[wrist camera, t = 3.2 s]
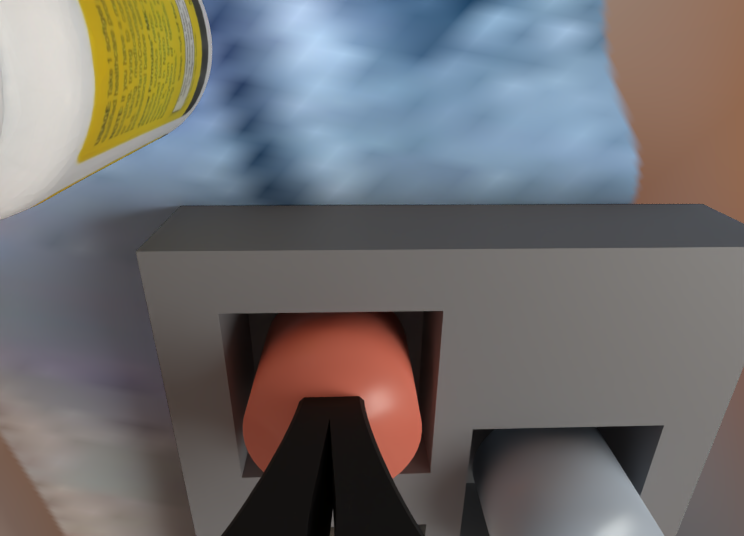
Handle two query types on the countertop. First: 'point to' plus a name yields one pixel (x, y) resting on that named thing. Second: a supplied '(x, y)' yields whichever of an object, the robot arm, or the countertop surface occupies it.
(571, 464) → the button slate
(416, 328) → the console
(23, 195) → the supplement bottle
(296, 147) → the countertop surface
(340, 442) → the robot arm
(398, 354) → the button red
